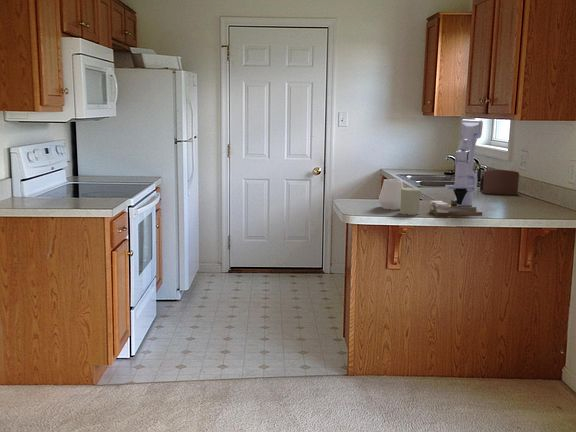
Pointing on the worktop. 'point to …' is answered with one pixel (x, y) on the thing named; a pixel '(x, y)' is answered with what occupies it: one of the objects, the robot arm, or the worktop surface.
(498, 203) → the worktop surface
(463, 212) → the door board
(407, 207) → the beige upright block
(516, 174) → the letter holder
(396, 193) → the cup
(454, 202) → the bolt
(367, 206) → the worktop surface
